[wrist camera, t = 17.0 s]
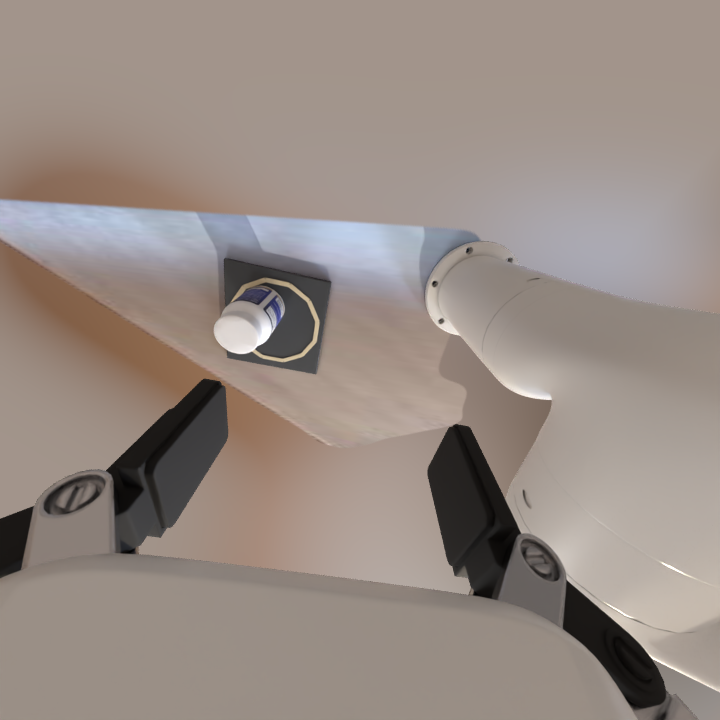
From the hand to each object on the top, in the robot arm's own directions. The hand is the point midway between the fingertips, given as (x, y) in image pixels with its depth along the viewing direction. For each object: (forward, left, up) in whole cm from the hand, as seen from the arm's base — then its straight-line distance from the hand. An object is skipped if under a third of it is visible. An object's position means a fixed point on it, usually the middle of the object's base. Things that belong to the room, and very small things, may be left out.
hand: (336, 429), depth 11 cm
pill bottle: (+11, +6, -27) cm, 30 cm away
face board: (+10, +8, -28) cm, 31 cm away
